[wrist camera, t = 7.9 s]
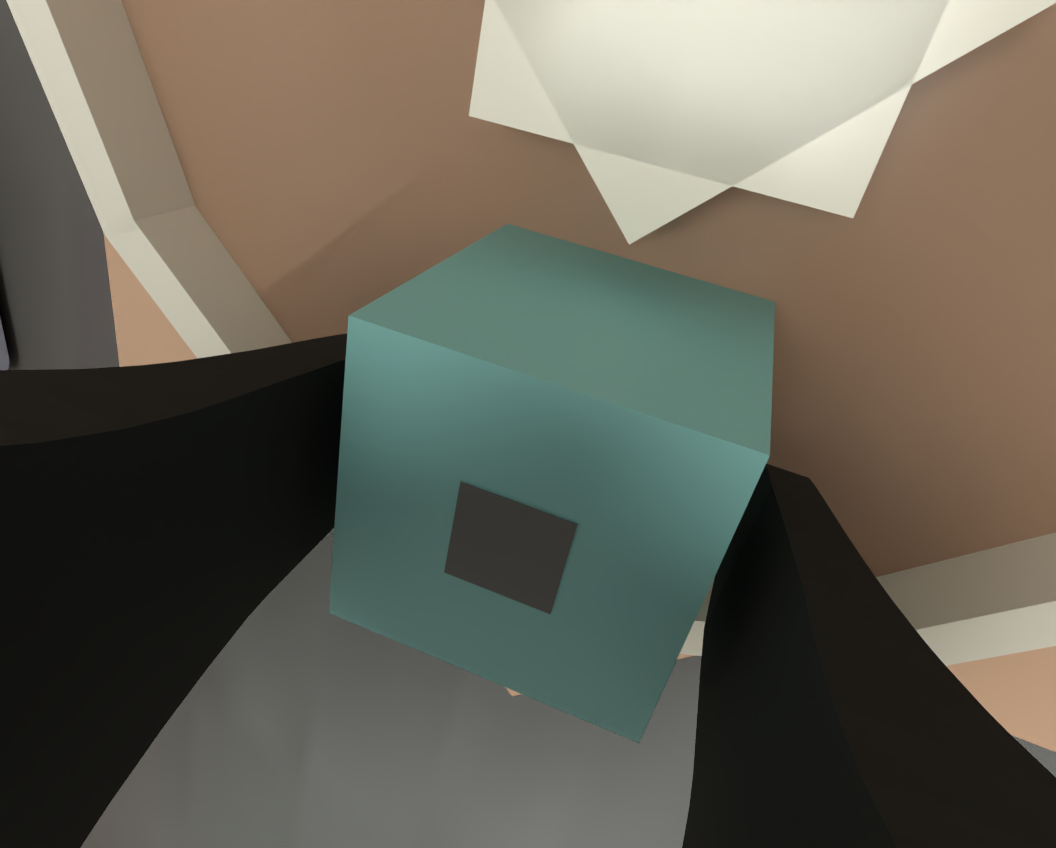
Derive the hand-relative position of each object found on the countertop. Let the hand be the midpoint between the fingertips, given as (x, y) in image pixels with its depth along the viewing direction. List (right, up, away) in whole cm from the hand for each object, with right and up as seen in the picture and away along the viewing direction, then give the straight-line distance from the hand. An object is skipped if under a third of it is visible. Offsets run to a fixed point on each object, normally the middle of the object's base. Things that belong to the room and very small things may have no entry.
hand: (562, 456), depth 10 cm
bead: (+1, +1, +2) cm, 2 cm away
